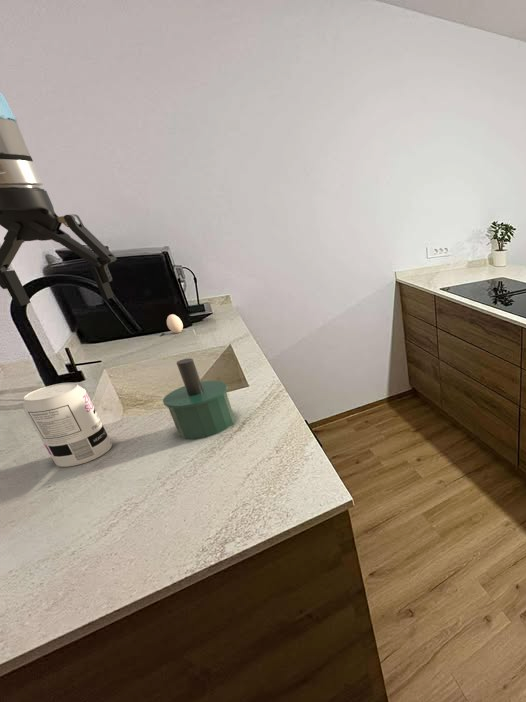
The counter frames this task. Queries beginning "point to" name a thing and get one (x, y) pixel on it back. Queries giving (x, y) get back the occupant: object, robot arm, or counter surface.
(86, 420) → the supplement can
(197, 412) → the pot
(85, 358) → the counter surface
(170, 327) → the egg
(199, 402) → the lid
